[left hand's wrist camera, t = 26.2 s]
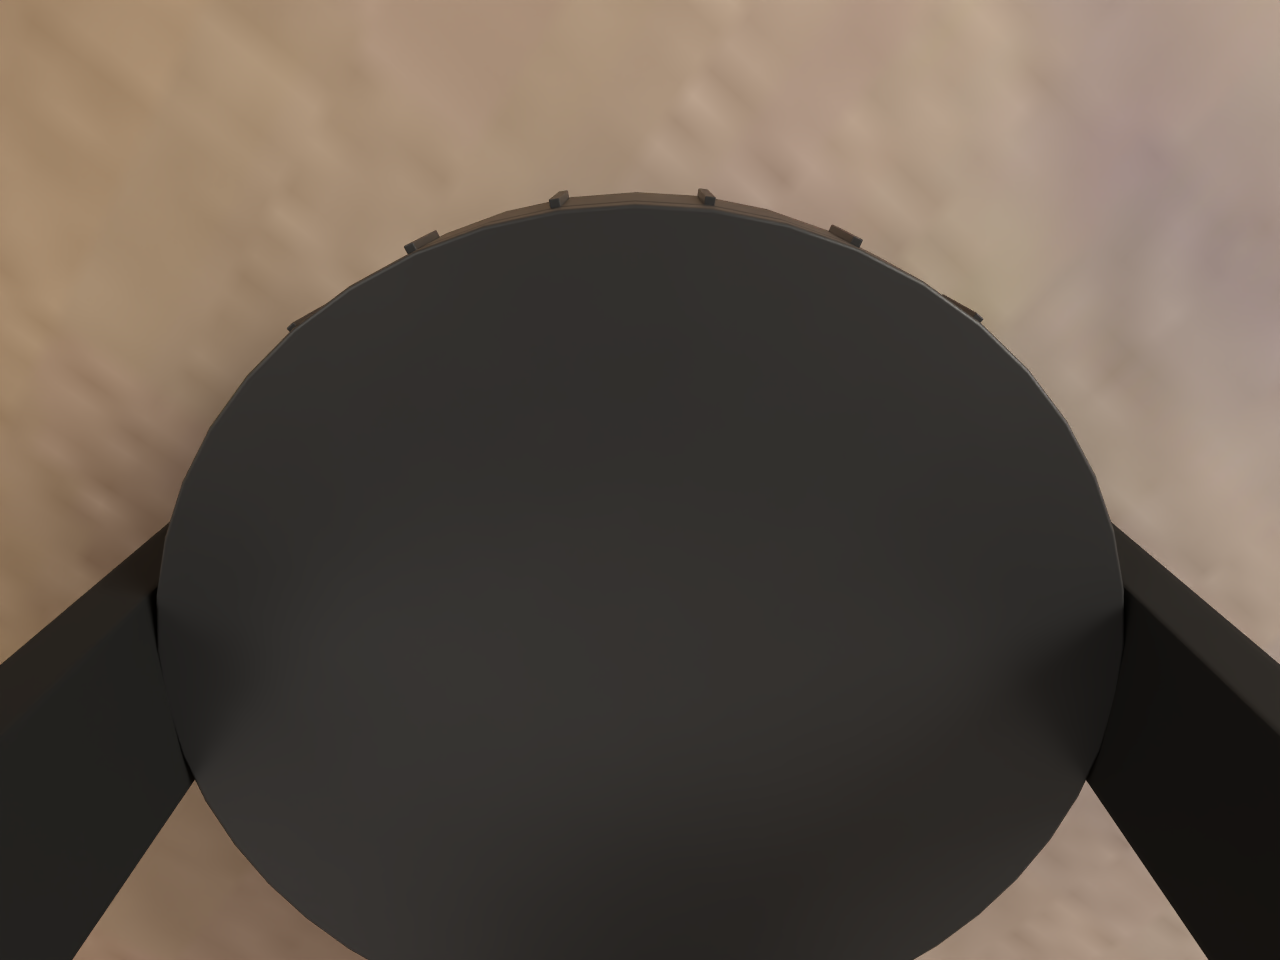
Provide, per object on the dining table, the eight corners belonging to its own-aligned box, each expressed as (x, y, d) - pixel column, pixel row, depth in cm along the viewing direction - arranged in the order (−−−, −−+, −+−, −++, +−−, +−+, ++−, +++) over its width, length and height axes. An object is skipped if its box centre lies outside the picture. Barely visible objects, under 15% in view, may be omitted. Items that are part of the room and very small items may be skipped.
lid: (185, 121, 10) (99, 120, 8) (1193, 252, 10) (1293, 275, 9) (233, 900, 14) (183, 997, 12) (946, 965, 15) (983, 1066, 13)
